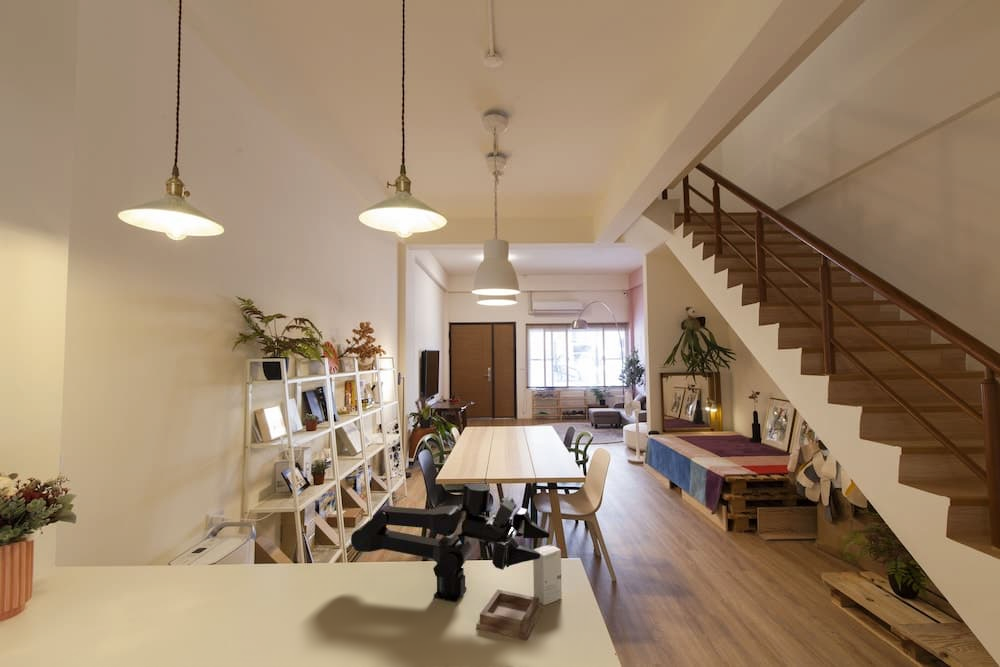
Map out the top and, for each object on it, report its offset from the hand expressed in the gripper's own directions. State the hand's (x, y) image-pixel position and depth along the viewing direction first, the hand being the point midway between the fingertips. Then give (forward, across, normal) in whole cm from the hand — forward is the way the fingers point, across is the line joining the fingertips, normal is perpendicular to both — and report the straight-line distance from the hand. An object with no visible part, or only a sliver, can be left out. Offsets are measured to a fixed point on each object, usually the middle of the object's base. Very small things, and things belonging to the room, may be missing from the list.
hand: (545, 545), depth 106 cm
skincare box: (+1, +4, +16) cm, 17 cm away
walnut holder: (-5, -7, +16) cm, 18 cm away
